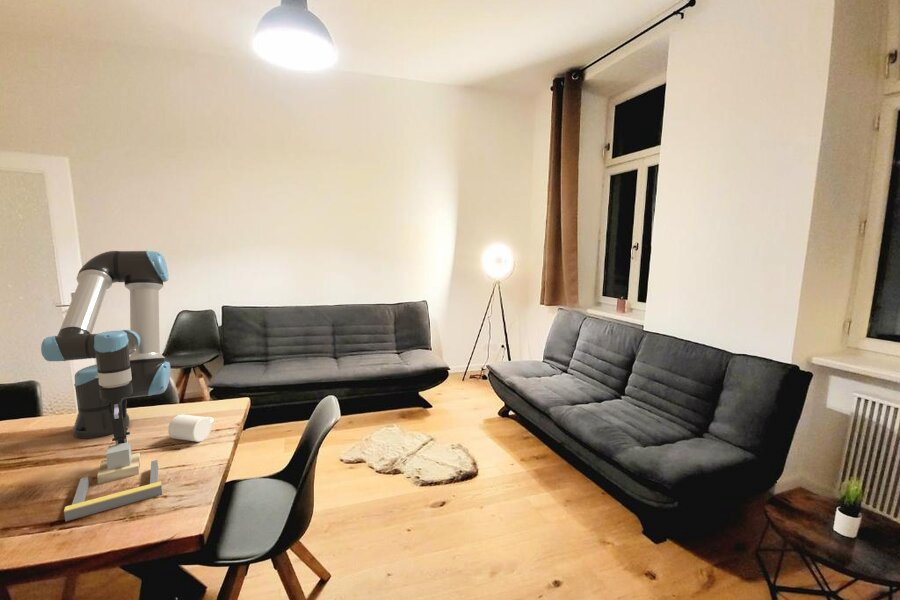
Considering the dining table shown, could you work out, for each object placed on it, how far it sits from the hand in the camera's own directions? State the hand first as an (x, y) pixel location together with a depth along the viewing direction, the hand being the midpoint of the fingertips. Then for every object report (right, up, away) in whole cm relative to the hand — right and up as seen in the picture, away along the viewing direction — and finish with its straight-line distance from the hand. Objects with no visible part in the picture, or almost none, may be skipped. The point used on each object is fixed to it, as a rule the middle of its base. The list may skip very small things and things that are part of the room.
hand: (123, 457), depth 122 cm
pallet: (+3, -3, -4) cm, 6 cm away
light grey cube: (+3, 0, -5) cm, 6 cm away
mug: (+11, 0, +18) cm, 21 cm away
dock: (+9, -4, -13) cm, 16 cm away
